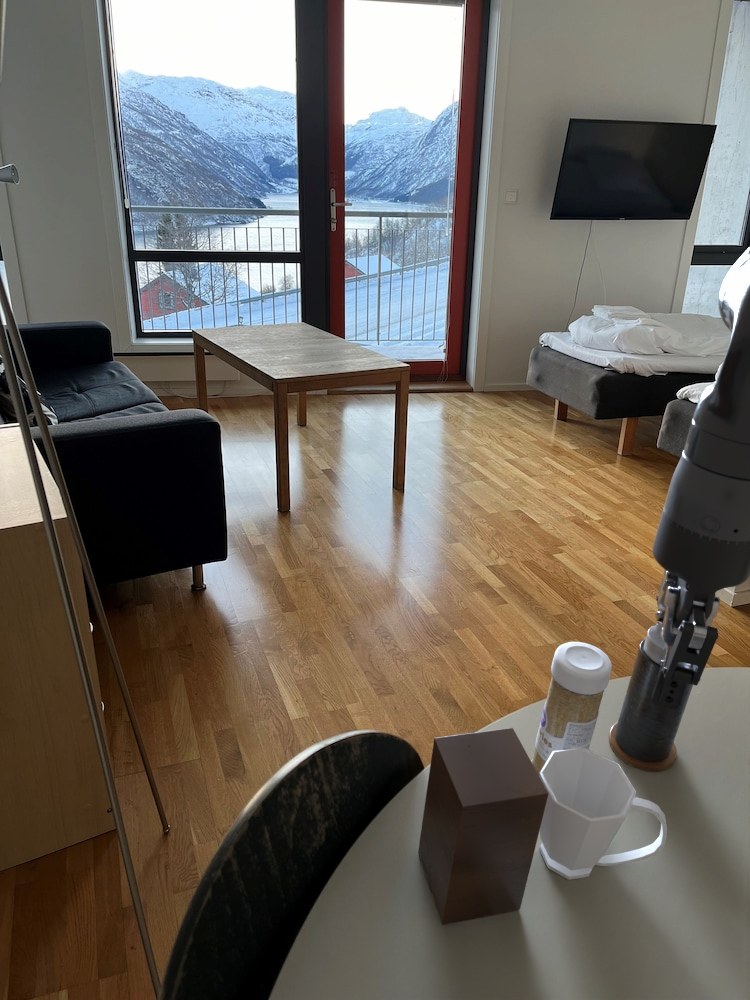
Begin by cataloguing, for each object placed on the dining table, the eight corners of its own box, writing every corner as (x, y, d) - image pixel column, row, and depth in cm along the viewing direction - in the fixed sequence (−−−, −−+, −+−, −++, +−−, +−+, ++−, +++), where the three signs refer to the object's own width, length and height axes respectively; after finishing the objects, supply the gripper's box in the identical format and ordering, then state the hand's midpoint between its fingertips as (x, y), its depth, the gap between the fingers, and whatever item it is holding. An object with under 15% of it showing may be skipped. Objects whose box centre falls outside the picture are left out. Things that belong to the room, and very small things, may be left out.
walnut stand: (489, 839, 59) (512, 727, 53) (520, 910, 54) (549, 793, 48) (417, 852, 57) (434, 737, 52) (442, 925, 52) (462, 807, 47)
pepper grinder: (650, 719, 71) (682, 619, 66) (681, 758, 67) (717, 654, 62) (604, 726, 70) (633, 624, 65) (632, 766, 66) (665, 660, 60)
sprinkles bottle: (520, 760, 66) (546, 640, 60) (568, 756, 67) (598, 638, 61) (538, 801, 62) (568, 677, 56) (588, 797, 63) (623, 674, 57)
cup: (523, 809, 62) (539, 738, 58) (646, 835, 60) (671, 763, 56) (521, 884, 55) (540, 810, 52) (659, 915, 54) (687, 840, 50)
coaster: (651, 720, 72) (653, 715, 72) (688, 766, 67) (690, 762, 67) (597, 727, 71) (598, 722, 71) (630, 776, 66) (631, 771, 65)
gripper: (785, 569, 51) (716, 749, 58) (751, 485, 63) (698, 643, 71) (671, 547, 52) (618, 725, 60) (660, 470, 65) (618, 625, 72)
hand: (662, 680), depth 65 cm, fingers open, 5 cm apart
